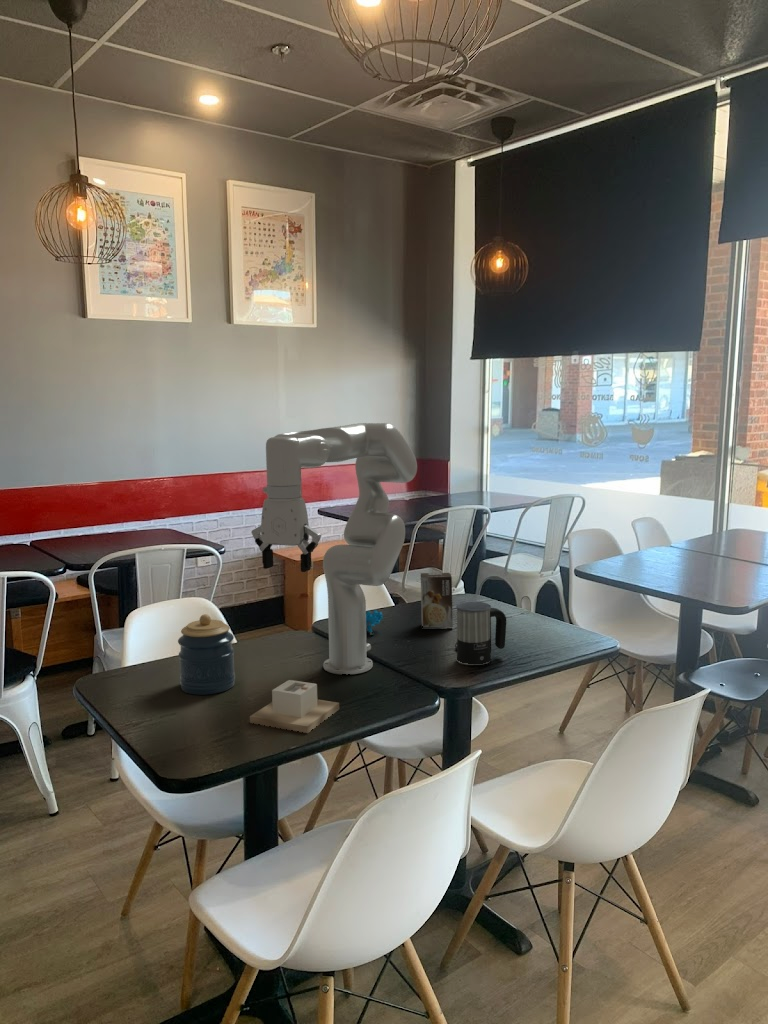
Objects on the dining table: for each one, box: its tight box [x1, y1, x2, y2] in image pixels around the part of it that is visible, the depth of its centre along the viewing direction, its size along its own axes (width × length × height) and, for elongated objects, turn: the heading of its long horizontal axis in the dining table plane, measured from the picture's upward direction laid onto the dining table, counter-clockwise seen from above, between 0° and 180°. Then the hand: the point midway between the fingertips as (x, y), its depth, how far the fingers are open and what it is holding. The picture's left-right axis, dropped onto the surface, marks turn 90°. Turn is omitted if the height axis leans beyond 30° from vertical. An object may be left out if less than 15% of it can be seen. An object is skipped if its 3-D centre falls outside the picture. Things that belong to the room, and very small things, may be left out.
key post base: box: [249, 686, 340, 734], centre depth 171 cm, size 14×14×6 cm
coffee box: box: [420, 572, 454, 628], centre depth 237 cm, size 9×6×16 cm
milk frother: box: [454, 601, 507, 664], centre depth 209 cm, size 14×16×15 cm
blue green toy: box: [366, 610, 384, 633], centre depth 231 cm, size 11×6×10 cm
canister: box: [177, 613, 236, 696], centre depth 189 cm, size 13×13×18 cm
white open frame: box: [271, 679, 318, 718], centre depth 171 cm, size 7×7×5 cm
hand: (286, 569), depth 177 cm, fingers open, 9 cm apart
